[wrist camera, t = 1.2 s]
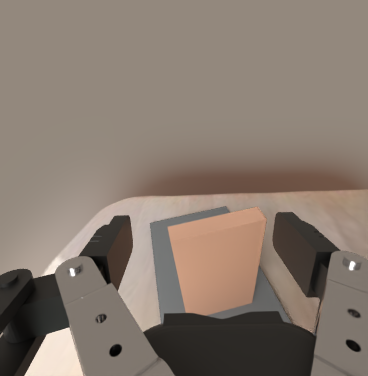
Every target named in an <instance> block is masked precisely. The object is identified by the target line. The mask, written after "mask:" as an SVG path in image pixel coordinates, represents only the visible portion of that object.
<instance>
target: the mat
mask: <svg viewBox="0 0 368 376" xmlns="http://www.w3.org/2000/svg"><path fill="white" fill-rule="evenodd" d="M227 213H230V212H229V211H228V209H227V207H226V206H225V207H220V208H216V209H211V210H207V211H202V212H198V213H193V214H189V215H184V216H180V217H175V218H171V219H166V220H162V221H157V222H153V223H150V228H151V237H152V246H153V255H154V264H155V273H156V282H157V291H158V300H159V309H160V318H161V324H162V323H163V320H164V313H186V311H185V307H184V302H183V297H182V293H181V288H180V283H179V279H178V274H177V269H176V265H175V260H174V256H173V251H172V246H171V242H170V237H169V232H168V227H169V226H173V225H178V224H182V223H187V222H191V221H196V220H200V219H204V218H209V217H213V216H218V215H222V214H227ZM256 311H279V313H280V316H281V318H282V320H283V321H284V322H288V323H291V322H290V320H289V318H288V316H287V314H286V313H285V311H284V309H283V307H282V305H281V304H280V302H279V300H278V298H277V296H276V295H275V293H274V291H273V289H272V288H271V286H270V284H269V282H268V280H267V279H266V277H265V275H264V273H263V271H262V270H261V268H260V266H259V267H258V272H257V278H256V284H255V289H254V295H253V301H252V303H250V304H246V305H243V306H239V307H235V308H232V309H228V310H224V311H221V312H217V313H213V314H210V315H206V316H210V317H214V318H219V319H225V318H229V317H233V316H236V315H240V314H243V313H247V312H256ZM291 324H292V323H291Z"/></svg>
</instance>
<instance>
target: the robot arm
mask: <svg viewBox="0 0 368 376" xmlns="http://www.w3.org/2000/svg"><path fill="white" fill-rule="evenodd" d="M273 246H274V248H275V250H276V252H277V253H278V255H279V256H280V258H281V259H282V261H283V262H284V264H285V265H286V267H287V268H288V270H289V271H290V273H291V274H292V276H293V277H294V279H295V281H296V282H297V284H298V285H299V287H300V288H301V290H302V291H303V293H304V294H305V296H306V297H319V299H320V302H319V306H318V311H317V316H316V321H315V326H314V331H313V333H311V332H309V331H307V330H305V329H304V328H302V327H299V326H297V325H294V324H291V323H288V322H284V321H283V320H282V318H281V316H280V313H279V311H256V312H247V313H243V314H240V315H236V316H233V317H229V318H225V319H219V318H214V317H210V316H205V315H200V314H195V313H164V320H163V323H162V324H159V325H156V326H154V327H151V328H150V329H148V330H146V331H144V332H142V330H141V329H140V327H139V326H138V324H137V322H136V321H135V319H134V317H133V316H132V314H131V313H130V311H129V309H128V308H127V306H126V305H125V303H124V301H123V300H122V298H121V296H120V295H119V293H118V289H119V286H120V283H121V280H122V278H123V275H124V272H125V269H126V267H127V264H128V261H129V258H130V255H131V253H132V248H133V238H132V230H131V221H130V217H129V215H124V216H114V217H113V219H112V221H111V222H110V224H109V225H104V226H102V227H101V228H99V229H98V230H97V231H96V232H95V234H94V235H93V237H92V238H91V239H90V242H88V244H87V245H86V246H85V248H84V249H83V251H82V252H81V253H80V255H79V256H78V257H75V258H71V259H69V260H67V261H65V262H63V263H62V264H61V265H60V266H59V267H58V268H57V269H56V271H55V273H54V274H51V275H46V276H42V277H38V278H33V276H32V273H31V271H30V270H28V269H17V270H13V271H10V272H7V273H4V274H2V275H0V334H1V333H2V332H3V335H2V336H1V338H0V376H24V375H25V373H26V372H27V370H28V368H29V366H30V364H31V362H32V361H33V359H34V357H35V355H36V353H37V351H38V350H39V348H40V346H41V344H42V342H43V340H44V339H45V337H46V335H47V334H48V333H52V332H55V331H58V330H61V329H65V328H68V327H70V331H71V334H72V338H73V341H74V345H75V348H76V352H77V355H78V359H79V362H80V365H81V369H82V372H83V376H368V260H367V259H366V258H364V257H362V256H360V255H358V254H355V253H352V252H347V251H340V250H339V249H338V248H337V247H336V246H335V245H334V244H333V243H332V242H330V241H329V240H328V239H327V238H326V237H324V235H323V234H321V233H319V231H318V230H317V229H316V228H315V227H314V226H312V225H310V224H308V223H306V222H304V221H302V220H301V219H299V218H298V217H297V216H296V215H295V214H294V213H293V212H278V213H277V214H276V217H275V224H274V231H273Z"/></svg>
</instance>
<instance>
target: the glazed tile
mask: <svg viewBox="0 0 368 376" xmlns="http://www.w3.org/2000/svg"><path fill="white" fill-rule="evenodd" d="M266 221H267V219H266V217H265V216H264V215H263V213H262V212H261V211H260V209H259V208H258V207H254V208H249V209H244V210H240V211H235V212H231V213H227V214H222V215H218V216H213V217H209V218H204V219H200V220H196V221H191V222H187V223H182V224H178V225H173V226H169V227H168V232H169V237H170V242H171V246H172V251H173V256H174V260H175V265H176V269H177V274H178V279H179V283H180V288H181V293H182V297H183V302H184V307H185V311H186V313H195V314H200V315H205V316H206V315H210V314H213V313H217V312H221V311H224V310H228V309H232V308H235V307H239V306H243V305H246V304H250V303H252V301H253V295H254V289H255V284H256V278H257V272H258V267H259V261H260V255H261V250H262V244H263V238H264V233H265V227H266Z"/></svg>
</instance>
